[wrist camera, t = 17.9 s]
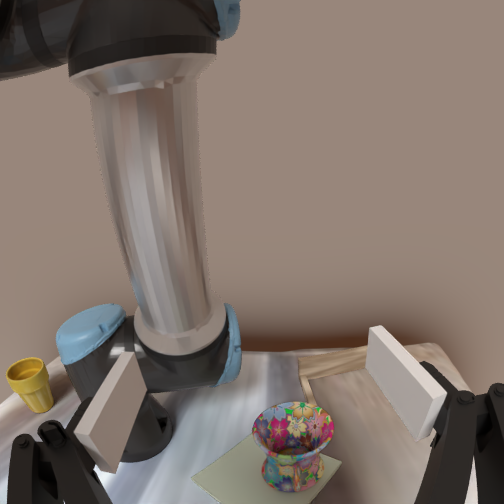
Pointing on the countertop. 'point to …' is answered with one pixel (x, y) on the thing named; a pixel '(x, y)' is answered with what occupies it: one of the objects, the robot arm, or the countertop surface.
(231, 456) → the board
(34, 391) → the plant pot
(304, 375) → the mug holder
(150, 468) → the countertop surface
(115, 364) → the robot arm
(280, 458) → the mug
